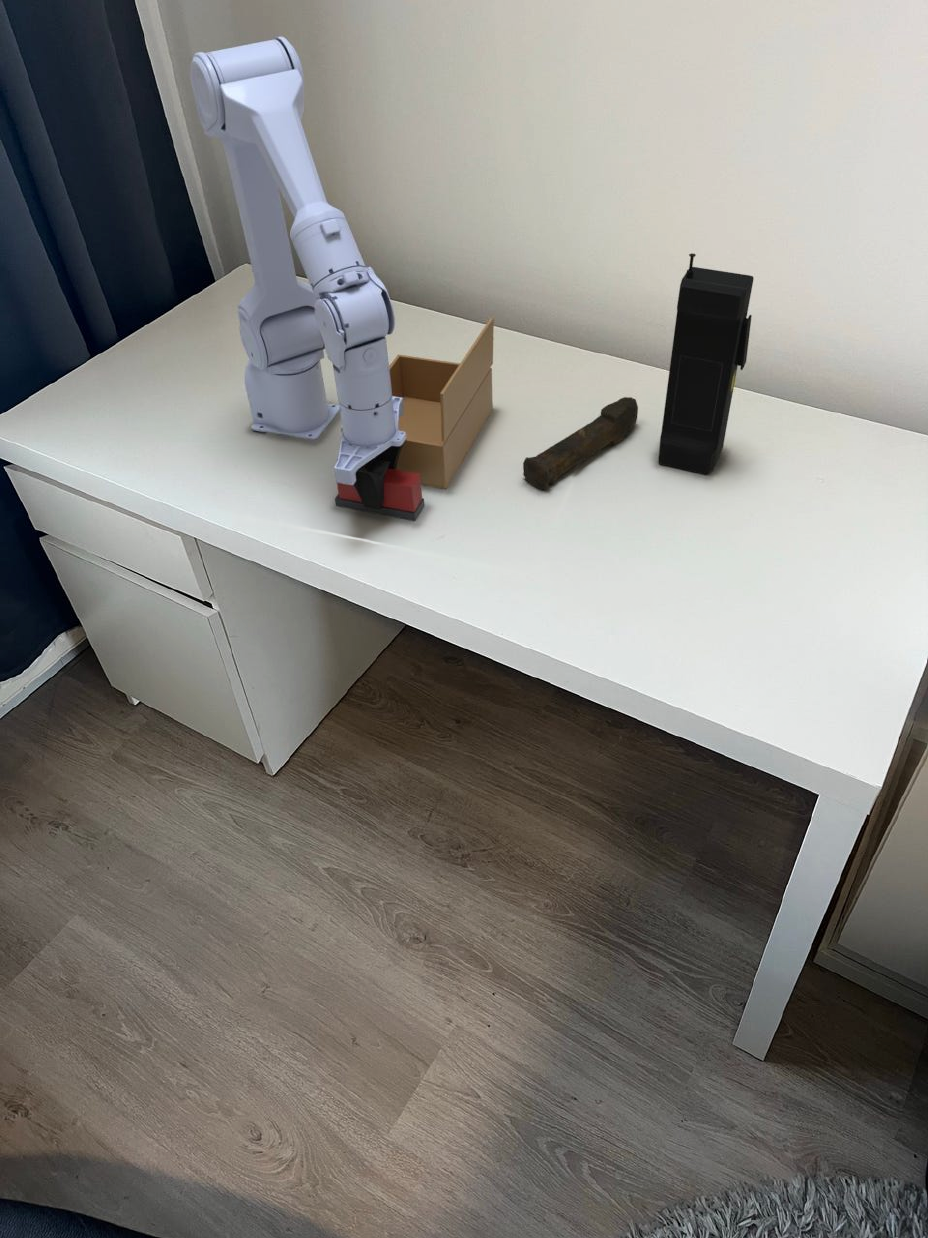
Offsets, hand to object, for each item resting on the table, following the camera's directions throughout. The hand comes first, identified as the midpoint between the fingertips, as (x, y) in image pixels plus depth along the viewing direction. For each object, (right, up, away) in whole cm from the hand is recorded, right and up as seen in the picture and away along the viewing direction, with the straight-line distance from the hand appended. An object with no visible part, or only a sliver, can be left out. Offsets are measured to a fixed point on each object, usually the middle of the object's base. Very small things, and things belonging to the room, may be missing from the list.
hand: (378, 498), depth 109 cm
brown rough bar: (+25, +6, +7) cm, 26 cm away
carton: (+5, +9, +10) cm, 14 cm away
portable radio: (+38, +6, +6) cm, 39 cm away
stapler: (0, -1, +1) cm, 1 cm away
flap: (+10, +14, +1) cm, 18 cm away
